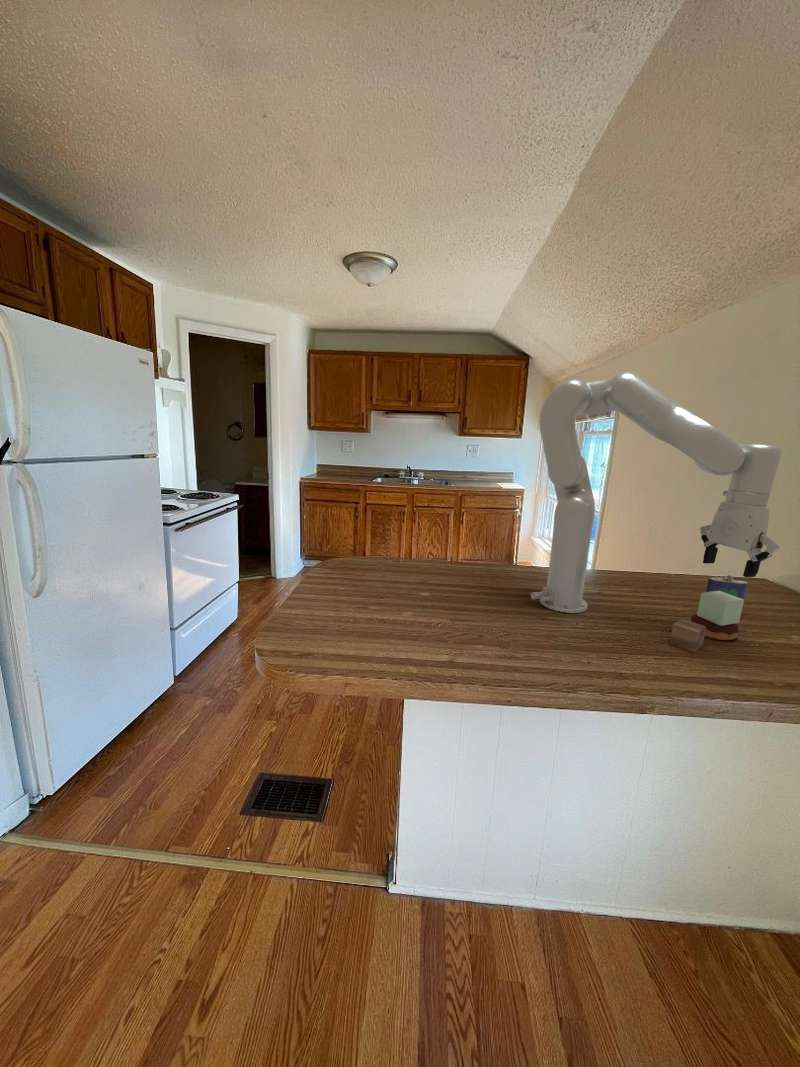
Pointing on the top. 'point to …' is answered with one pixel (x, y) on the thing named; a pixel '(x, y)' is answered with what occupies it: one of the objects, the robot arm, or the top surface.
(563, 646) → the top surface
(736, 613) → the sage block
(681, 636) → the walnut block
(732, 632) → the donut
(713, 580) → the flask
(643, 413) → the robot arm
